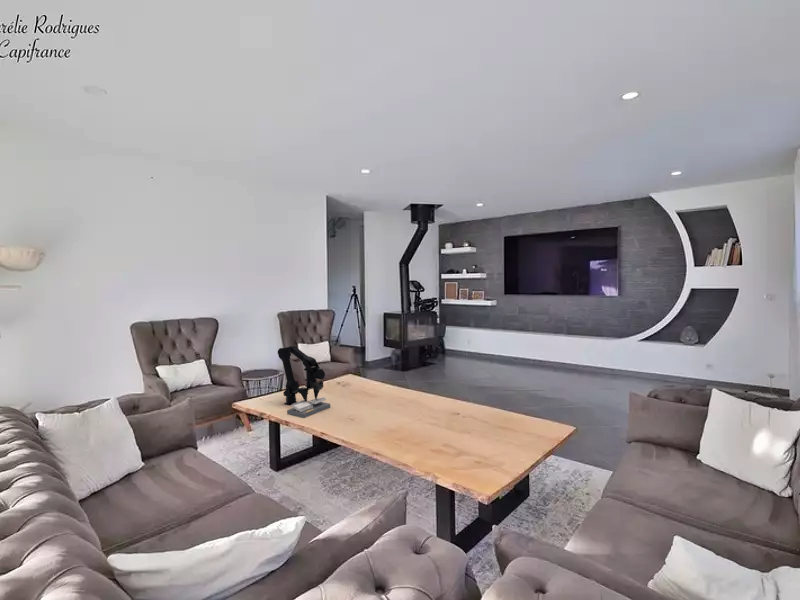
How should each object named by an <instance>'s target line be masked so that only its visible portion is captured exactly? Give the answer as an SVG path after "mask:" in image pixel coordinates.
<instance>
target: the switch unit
mask: <svg viewBox="0 0 800 600" xmlns="http://www.w3.org/2000/svg"><path fill="white" fill-rule="evenodd" d="M311 405H313V408H312V409H309V410H306V411H304V412H300V411H298V410H296V409H295V408H293V407H292V408H289V409H286V414H287V415H290V416H294V417H297V418H302V419H305V418H309V417H310V416H313V415H315V414H318V413H320V412H323V411H325V410H327V409H330V408H331V403H330V402H329V403H328V402H325V401H322V402H319V403H317V404H311Z"/></svg>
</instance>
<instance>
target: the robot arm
mask: <svg viewBox="0 0 800 600" xmlns="http://www.w3.org/2000/svg"><path fill="white" fill-rule="evenodd" d="M292 354H293V355H294V356H295V357H296V358H297V359H298V360H300V361H301V362H302V365H303V366H304V367H305V368H303V371H305V374H306V376H305V377H306V378H305V379H304V381H305V383H306V384H305V385H304V386H305V387H304V386H301V387H300V385H299V381H296V379H295V376H294V373H293V367H292V364H291V356H292ZM277 355H278V358H279V359H280V360H281V361H282V365H283V371H284V374H285V379H286V384H285V390H284V391H283V396H284V397H285V402H284V405H288V406H292V404H294V403H297V402H298V401H297V394H298V393H299V394H300V395H301V397H302V399H303V400H304V401H306V402H308V394H309V391H310V390H312V389H313V395H314V399H317V398H318V396H319V393H320V391H321V390H322V389H323V388H324V381H322V380H324V379H325V377H326V373H325V370H324V369H323V368H321V367H320V366H319V363H318V362H317V359H316V358H314V357H312V356H308V355H307V354H306V353H304V352H303V351H302V350H301V349H299V348H298V347H297V346H296V345H289V346H284V347H281V348H278V349H277ZM318 380H320V381H318Z"/></svg>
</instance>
